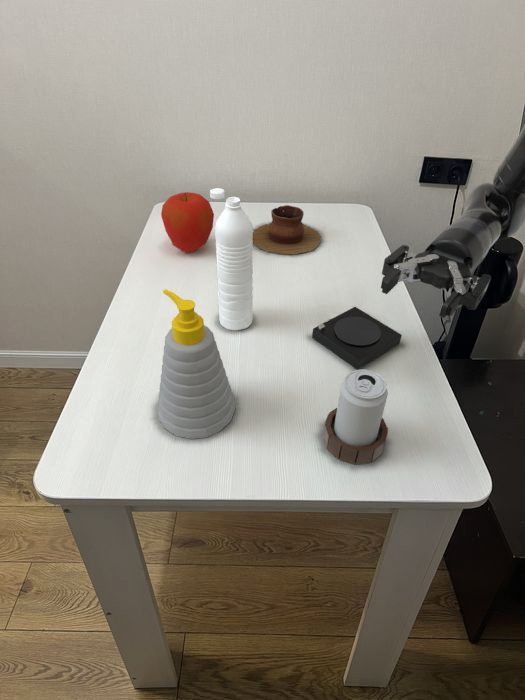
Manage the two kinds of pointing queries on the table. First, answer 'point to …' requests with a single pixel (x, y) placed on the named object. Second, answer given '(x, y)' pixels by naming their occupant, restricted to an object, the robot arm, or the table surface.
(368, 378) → the beverage can
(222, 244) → the water bottle
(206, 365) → the soap bottle
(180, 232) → the apple
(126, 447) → the table surface
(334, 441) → the can holder
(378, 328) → the hot plate
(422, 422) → the table surface
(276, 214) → the ceramic pot
